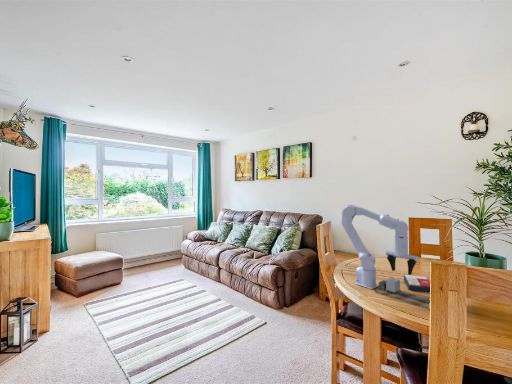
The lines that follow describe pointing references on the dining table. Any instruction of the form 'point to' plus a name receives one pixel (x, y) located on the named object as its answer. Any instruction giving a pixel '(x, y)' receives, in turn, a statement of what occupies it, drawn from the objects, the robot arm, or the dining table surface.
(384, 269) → the dining table surface
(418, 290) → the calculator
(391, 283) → the grey block
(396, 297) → the cord board
